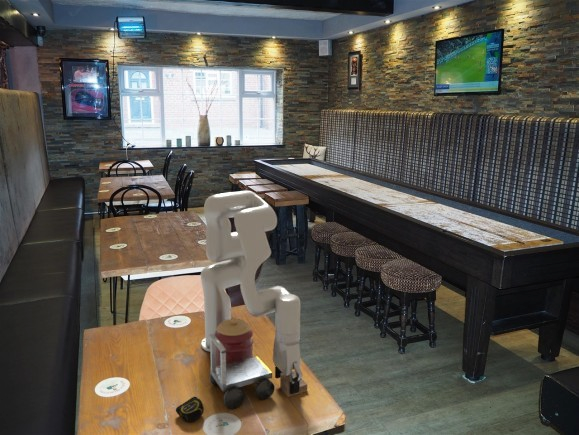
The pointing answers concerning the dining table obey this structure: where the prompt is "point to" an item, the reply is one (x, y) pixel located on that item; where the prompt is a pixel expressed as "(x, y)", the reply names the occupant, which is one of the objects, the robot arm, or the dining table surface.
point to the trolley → (238, 376)
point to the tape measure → (190, 409)
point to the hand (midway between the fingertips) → (286, 384)
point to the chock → (285, 384)
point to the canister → (234, 340)
